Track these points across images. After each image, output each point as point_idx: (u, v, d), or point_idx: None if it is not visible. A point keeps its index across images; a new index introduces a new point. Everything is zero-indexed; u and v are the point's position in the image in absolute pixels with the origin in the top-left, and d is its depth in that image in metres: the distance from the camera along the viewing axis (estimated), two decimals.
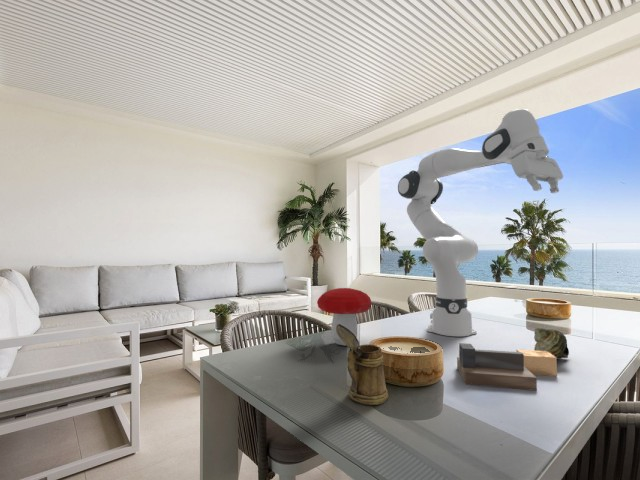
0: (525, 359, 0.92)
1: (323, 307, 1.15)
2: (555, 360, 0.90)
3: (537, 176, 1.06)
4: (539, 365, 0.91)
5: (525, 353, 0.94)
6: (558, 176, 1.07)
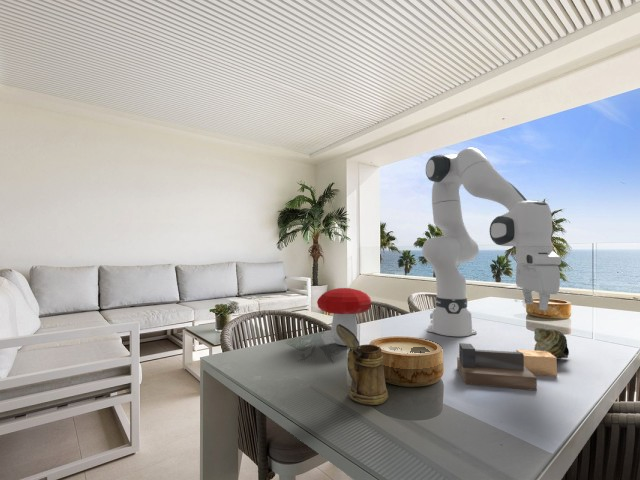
0: (525, 359, 0.92)
1: (323, 307, 1.15)
2: (555, 360, 0.90)
3: None
4: (539, 365, 0.91)
5: (525, 353, 0.94)
6: None
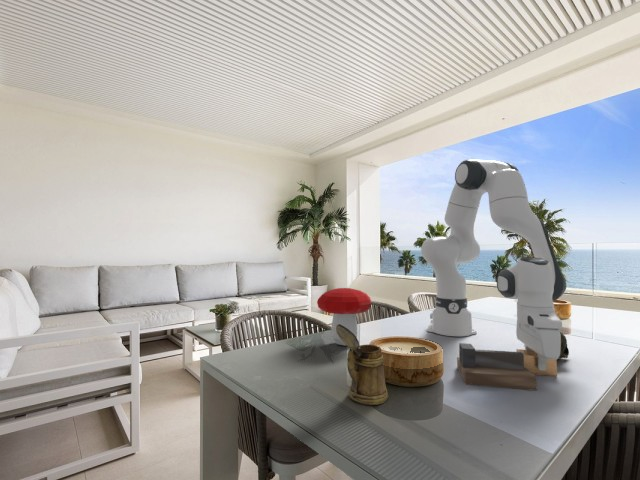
0: (525, 359, 0.92)
1: (323, 307, 1.15)
2: (555, 360, 0.90)
3: None
4: None
5: (525, 353, 0.94)
6: None
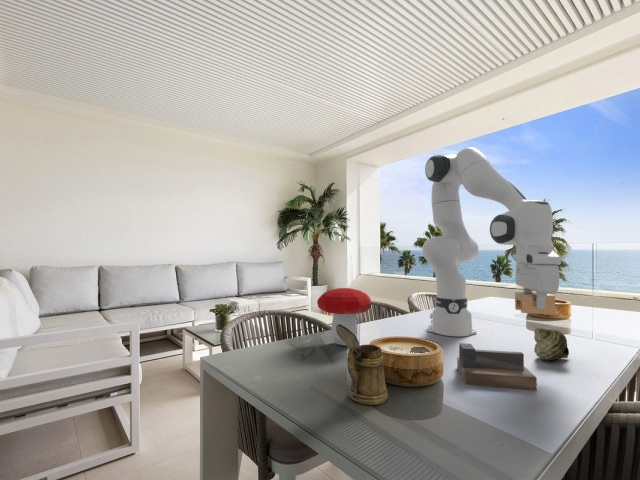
0: (524, 299, 0.92)
1: (323, 307, 1.15)
2: (553, 298, 0.91)
3: None
4: None
5: (524, 293, 0.94)
6: None
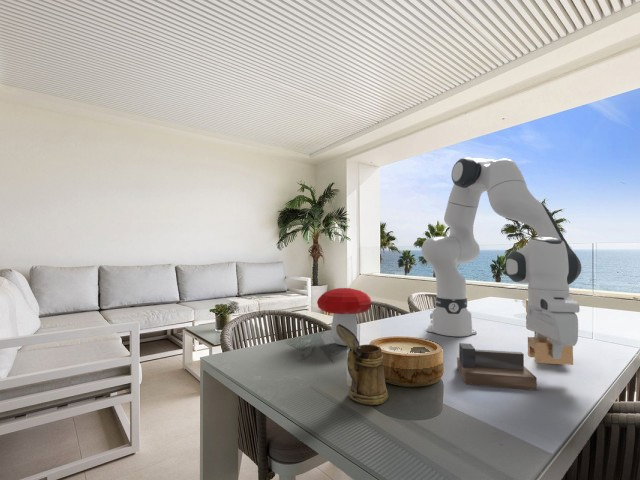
0: (538, 347, 0.84)
1: (323, 307, 1.15)
2: (571, 347, 0.82)
3: None
4: None
5: (538, 340, 0.86)
6: None
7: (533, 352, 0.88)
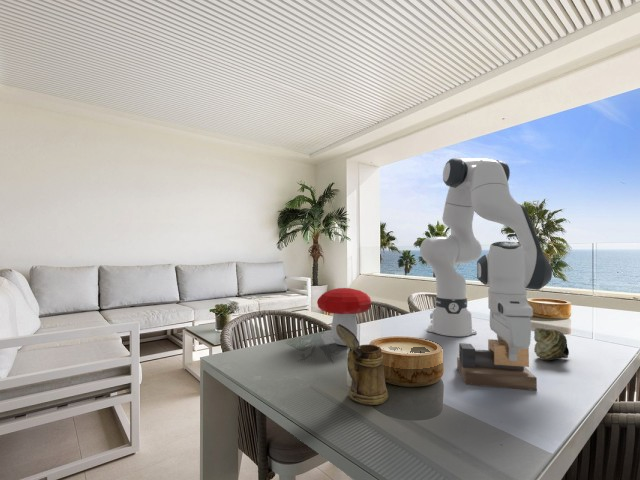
0: (496, 349, 0.86)
1: (323, 307, 1.15)
2: (527, 350, 0.85)
3: None
4: None
5: (496, 343, 0.88)
6: None
7: None
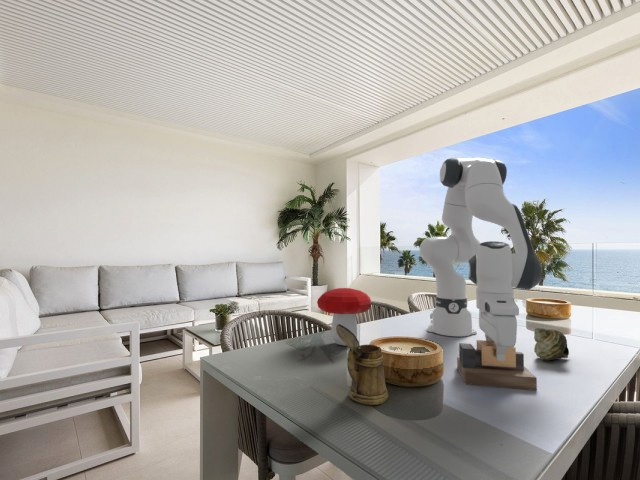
0: (483, 350, 0.87)
1: (323, 307, 1.15)
2: (514, 350, 0.85)
3: None
4: None
5: (484, 343, 0.89)
6: None
7: None
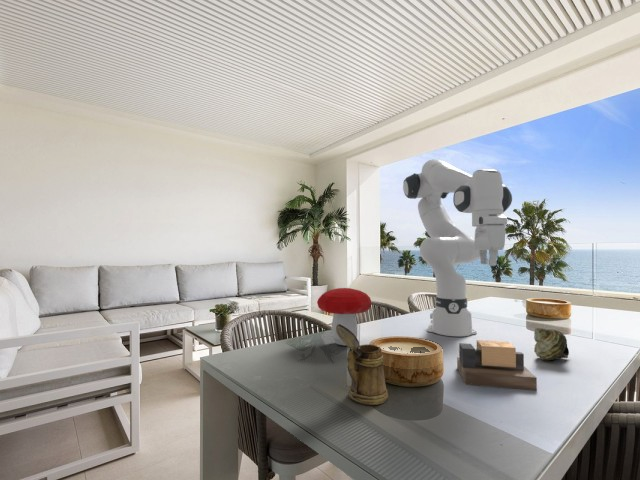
0: (483, 350, 0.87)
1: (323, 307, 1.15)
2: (514, 350, 0.85)
3: None
4: (497, 356, 0.86)
5: (484, 343, 0.89)
6: None
7: None
